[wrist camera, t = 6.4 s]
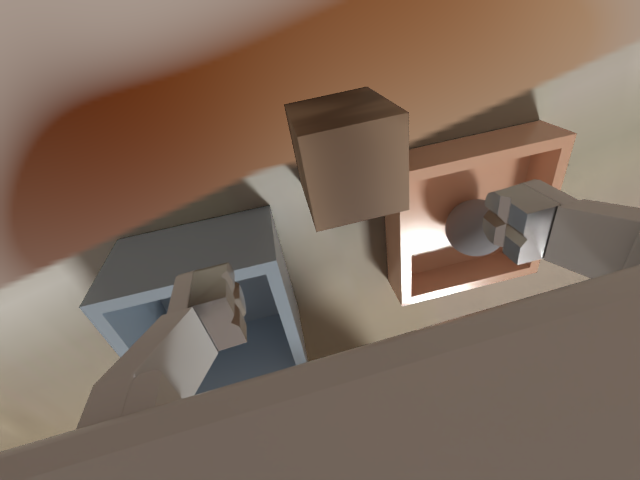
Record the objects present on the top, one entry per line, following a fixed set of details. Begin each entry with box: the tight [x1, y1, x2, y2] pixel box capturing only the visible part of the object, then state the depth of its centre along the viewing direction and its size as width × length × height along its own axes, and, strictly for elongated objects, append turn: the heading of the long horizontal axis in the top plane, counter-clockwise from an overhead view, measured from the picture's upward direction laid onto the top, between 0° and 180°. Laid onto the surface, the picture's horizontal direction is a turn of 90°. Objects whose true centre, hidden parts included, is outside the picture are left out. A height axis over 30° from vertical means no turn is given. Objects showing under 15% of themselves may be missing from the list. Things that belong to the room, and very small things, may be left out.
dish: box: [385, 120, 577, 306], centre depth 20 cm, size 9×9×2 cm
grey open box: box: [79, 205, 308, 395], centre depth 18 cm, size 8×8×5 cm
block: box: [284, 87, 409, 232], centre depth 15 cm, size 4×4×5 cm
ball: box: [445, 199, 500, 256], centre depth 19 cm, size 3×3×3 cm
